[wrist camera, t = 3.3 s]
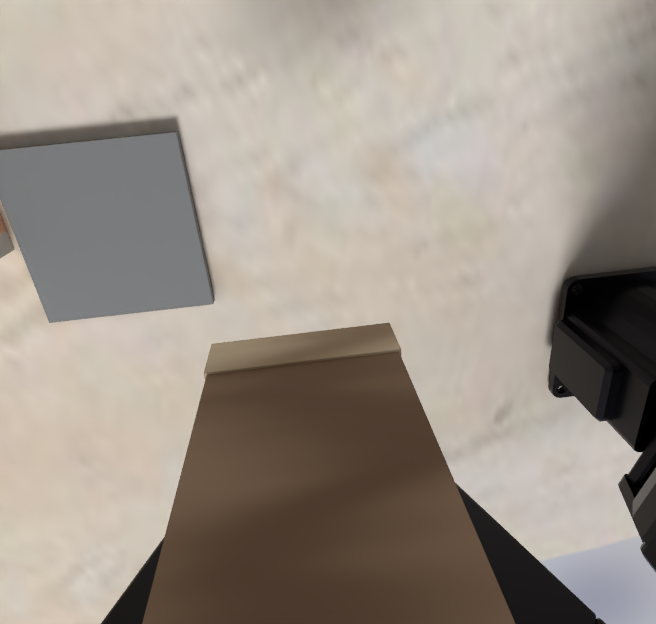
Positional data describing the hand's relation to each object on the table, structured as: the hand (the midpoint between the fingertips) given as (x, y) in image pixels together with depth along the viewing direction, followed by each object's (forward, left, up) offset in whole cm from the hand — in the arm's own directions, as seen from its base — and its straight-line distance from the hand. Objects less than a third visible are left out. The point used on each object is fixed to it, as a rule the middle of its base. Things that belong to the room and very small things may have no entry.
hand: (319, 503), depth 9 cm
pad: (+7, -2, -13) cm, 15 cm away
